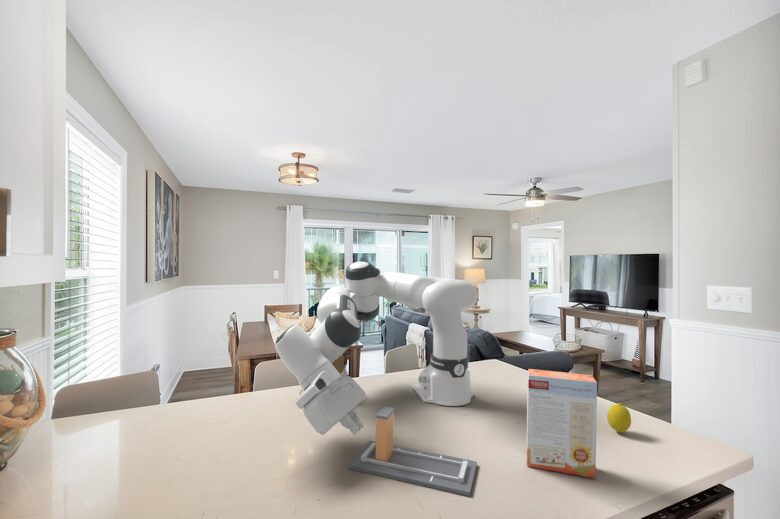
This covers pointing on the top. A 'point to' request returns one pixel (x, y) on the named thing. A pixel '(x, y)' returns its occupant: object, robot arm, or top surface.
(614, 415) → the lemon
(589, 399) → the cracker box
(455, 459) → the grey fader base
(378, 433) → the fader cap
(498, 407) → the top surface
